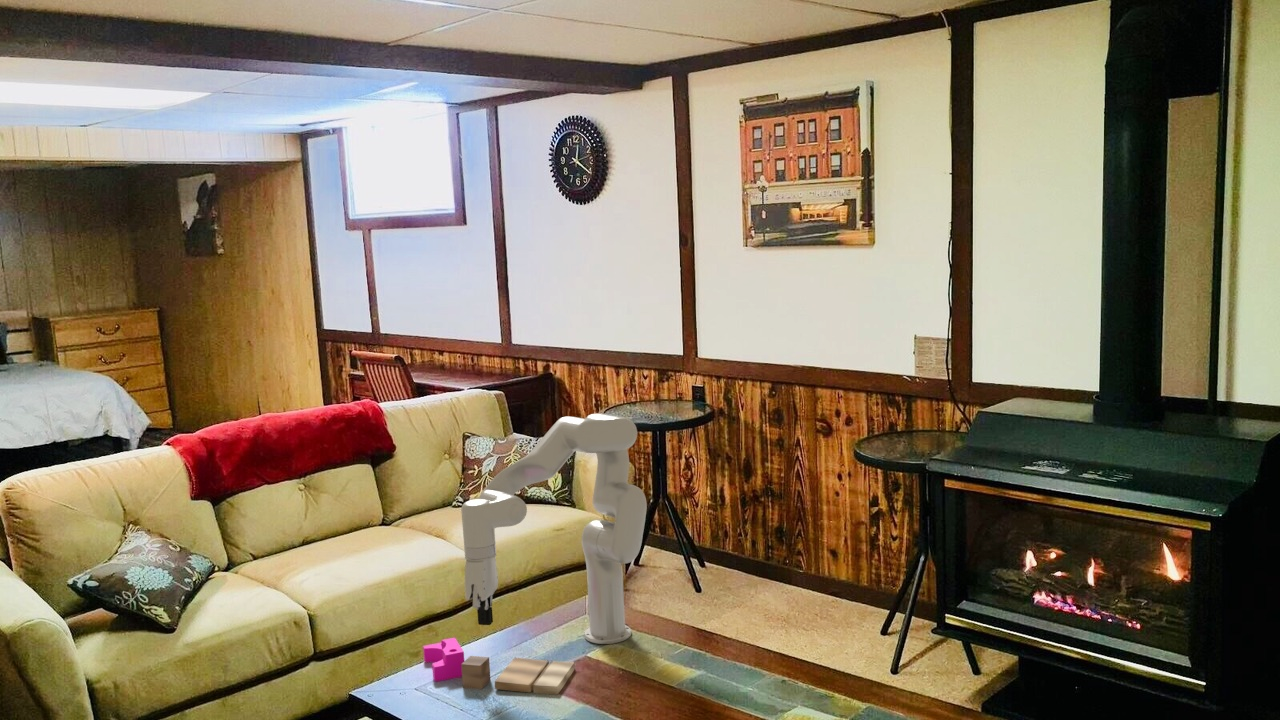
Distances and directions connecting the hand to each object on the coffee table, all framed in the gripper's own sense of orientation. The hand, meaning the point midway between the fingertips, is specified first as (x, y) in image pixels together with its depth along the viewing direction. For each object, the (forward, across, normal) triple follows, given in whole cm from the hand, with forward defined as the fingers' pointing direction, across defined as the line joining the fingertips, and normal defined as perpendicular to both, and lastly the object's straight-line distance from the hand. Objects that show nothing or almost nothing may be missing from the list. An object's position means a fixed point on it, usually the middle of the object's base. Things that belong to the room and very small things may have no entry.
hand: (485, 623), depth 250 cm
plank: (+13, -2, +13) cm, 18 cm away
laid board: (+15, -2, +16) cm, 22 cm away
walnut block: (+15, +2, -3) cm, 15 cm away
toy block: (+12, -8, -12) cm, 18 cm away
